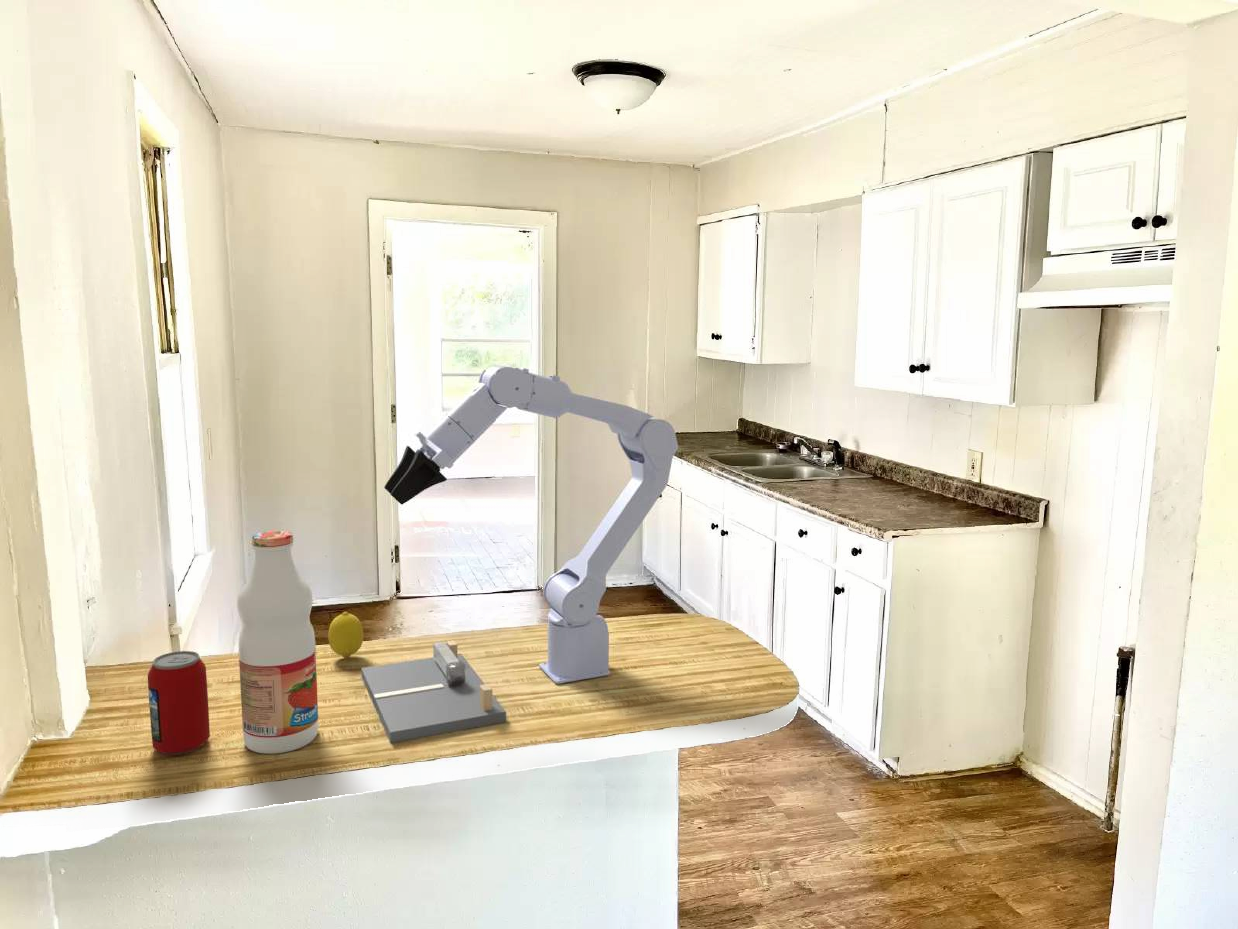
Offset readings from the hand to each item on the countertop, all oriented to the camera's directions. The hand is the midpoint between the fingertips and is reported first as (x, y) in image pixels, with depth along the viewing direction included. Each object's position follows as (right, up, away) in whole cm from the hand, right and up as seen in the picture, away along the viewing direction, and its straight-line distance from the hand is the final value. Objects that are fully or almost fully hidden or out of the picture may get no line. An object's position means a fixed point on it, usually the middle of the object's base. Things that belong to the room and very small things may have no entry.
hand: (392, 496), depth 123 cm
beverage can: (-25, -33, -10) cm, 42 cm away
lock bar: (+6, -28, +11) cm, 30 cm away
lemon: (-13, -28, +20) cm, 37 cm away
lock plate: (+4, -30, +5) cm, 31 cm away
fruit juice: (-13, -32, -8) cm, 36 cm away
